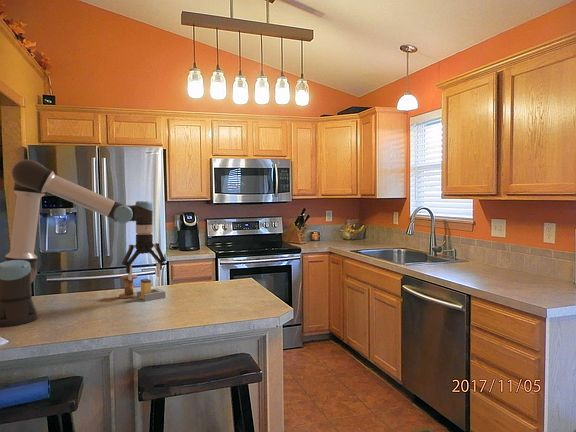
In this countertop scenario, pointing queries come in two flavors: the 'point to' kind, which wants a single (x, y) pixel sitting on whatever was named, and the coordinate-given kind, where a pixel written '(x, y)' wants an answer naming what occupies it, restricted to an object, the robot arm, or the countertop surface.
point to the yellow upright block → (145, 287)
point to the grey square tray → (152, 295)
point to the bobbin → (128, 287)
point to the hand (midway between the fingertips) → (144, 278)
